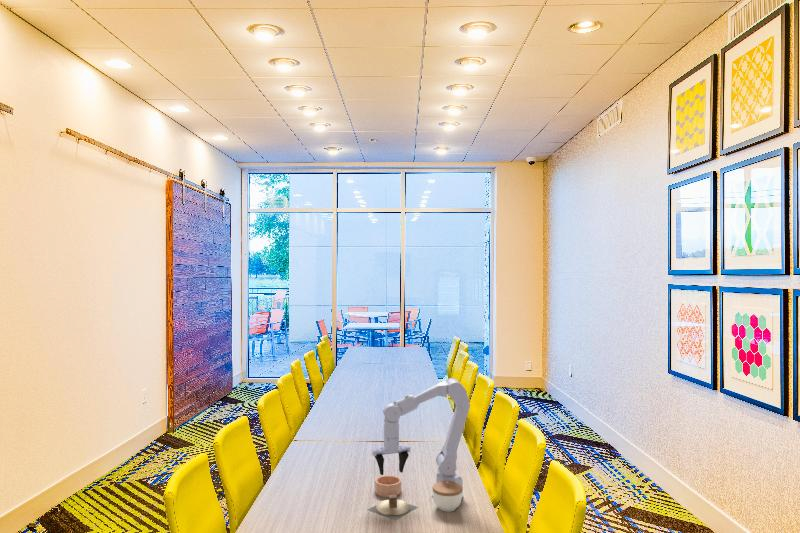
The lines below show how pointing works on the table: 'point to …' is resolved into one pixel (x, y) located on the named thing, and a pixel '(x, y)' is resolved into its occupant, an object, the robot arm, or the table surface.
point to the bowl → (388, 485)
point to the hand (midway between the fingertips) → (391, 472)
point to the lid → (392, 506)
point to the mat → (393, 516)
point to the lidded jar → (447, 495)
